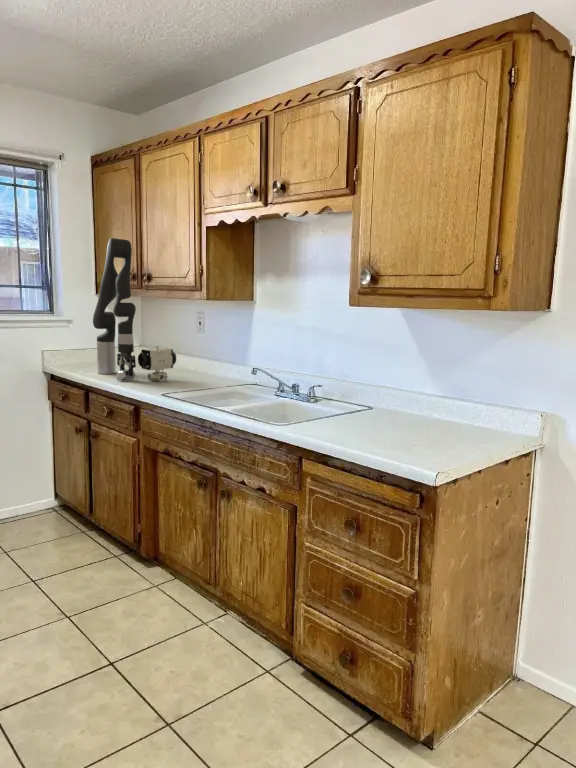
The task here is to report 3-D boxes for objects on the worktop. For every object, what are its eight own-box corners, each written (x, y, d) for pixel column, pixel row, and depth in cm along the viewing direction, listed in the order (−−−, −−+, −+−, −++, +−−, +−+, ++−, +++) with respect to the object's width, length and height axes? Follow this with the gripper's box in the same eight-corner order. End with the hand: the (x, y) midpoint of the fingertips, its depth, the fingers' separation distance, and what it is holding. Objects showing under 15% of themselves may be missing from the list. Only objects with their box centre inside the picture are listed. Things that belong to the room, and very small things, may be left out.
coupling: (116, 380, 288) (115, 370, 287) (130, 379, 293) (130, 368, 292) (121, 382, 284) (120, 371, 283) (135, 380, 289) (135, 370, 288)
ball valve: (146, 384, 280) (145, 347, 277) (137, 381, 286) (137, 346, 283) (178, 380, 292) (177, 346, 289) (169, 378, 298) (169, 344, 295)
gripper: (111, 342, 288) (113, 374, 290) (125, 344, 278) (126, 377, 280) (125, 341, 293) (126, 373, 296) (139, 343, 283) (140, 376, 285)
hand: (126, 375), depth 288 cm, fingers open, 8 cm apart
